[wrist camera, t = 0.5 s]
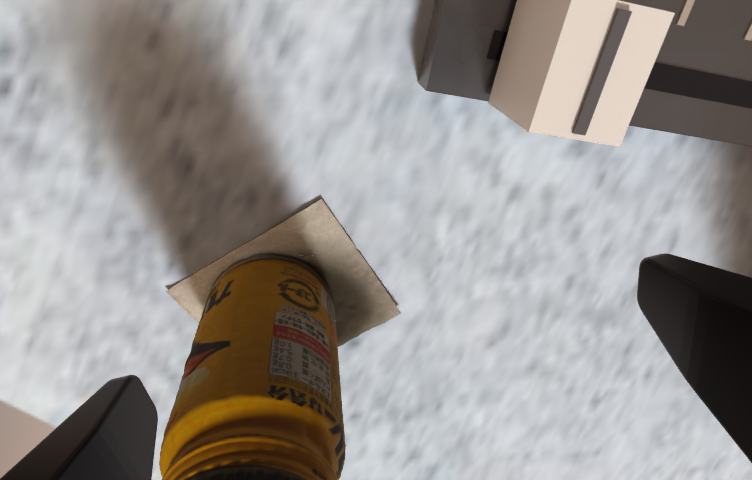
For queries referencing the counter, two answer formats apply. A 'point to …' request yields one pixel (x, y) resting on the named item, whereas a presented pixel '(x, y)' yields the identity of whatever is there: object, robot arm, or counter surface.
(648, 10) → the block
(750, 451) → the robot arm
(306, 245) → the condiment
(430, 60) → the mixer panel
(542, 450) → the counter surface
